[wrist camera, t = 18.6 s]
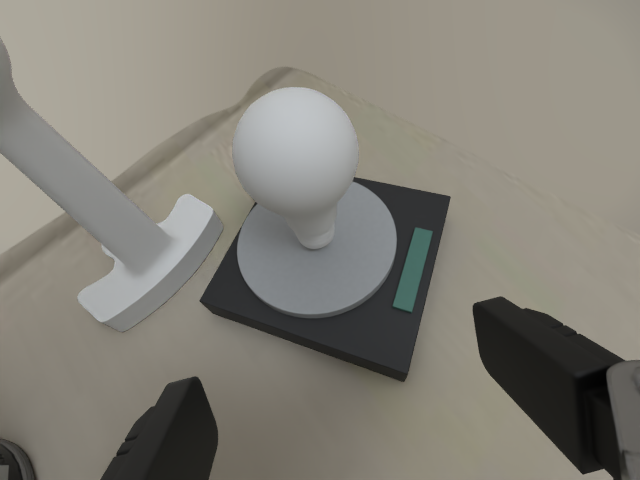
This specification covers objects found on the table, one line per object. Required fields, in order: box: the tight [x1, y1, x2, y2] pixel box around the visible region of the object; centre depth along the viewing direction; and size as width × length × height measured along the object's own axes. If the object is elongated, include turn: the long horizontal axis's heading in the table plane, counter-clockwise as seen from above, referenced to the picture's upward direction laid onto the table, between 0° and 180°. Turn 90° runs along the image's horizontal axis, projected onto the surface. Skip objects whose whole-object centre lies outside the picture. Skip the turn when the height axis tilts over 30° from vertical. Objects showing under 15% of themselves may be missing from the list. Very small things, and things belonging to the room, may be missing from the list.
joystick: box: [0, 38, 223, 332], centre depth 20 cm, size 11×8×20 cm
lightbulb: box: [232, 87, 359, 249], centre depth 19 cm, size 6×6×11 cm
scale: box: [200, 177, 451, 382], centre depth 25 cm, size 13×14×3 cm
